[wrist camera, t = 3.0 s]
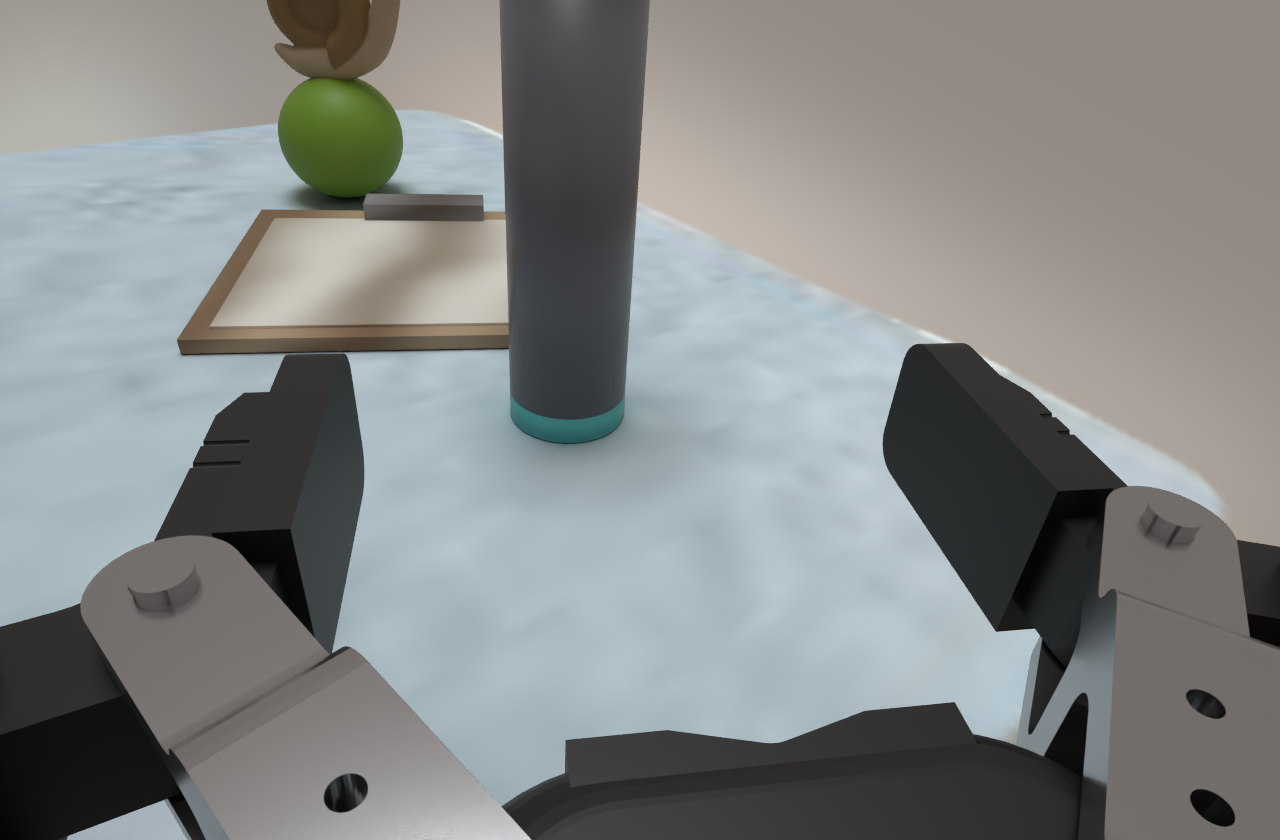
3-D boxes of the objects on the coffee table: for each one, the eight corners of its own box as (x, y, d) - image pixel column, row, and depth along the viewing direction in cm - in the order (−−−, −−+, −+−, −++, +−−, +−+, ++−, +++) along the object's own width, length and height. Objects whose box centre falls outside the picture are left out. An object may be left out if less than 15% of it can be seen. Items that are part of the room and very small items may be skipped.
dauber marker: (512, 445, 23) (498, -98, 16) (509, 383, 26) (496, -103, 19) (631, 440, 24) (668, -86, 17) (615, 380, 26) (642, -93, 19)
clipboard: (180, 353, 26) (170, 316, 25) (264, 220, 36) (258, 191, 35) (615, 345, 28) (617, 312, 28) (582, 222, 38) (582, 195, 37)
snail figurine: (406, 221, 37) (376, -91, 30) (268, 207, 37) (208, -105, 31) (441, 184, 42) (422, -94, 35) (318, 173, 42) (275, -106, 35)
